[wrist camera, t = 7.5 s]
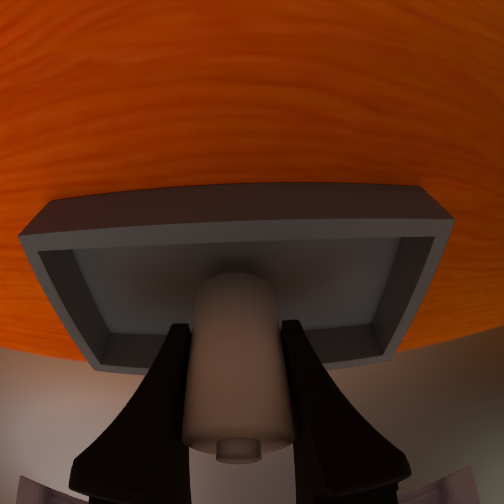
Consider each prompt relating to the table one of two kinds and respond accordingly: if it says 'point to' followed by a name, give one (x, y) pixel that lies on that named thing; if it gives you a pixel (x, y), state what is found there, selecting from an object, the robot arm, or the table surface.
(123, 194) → the trough
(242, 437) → the cell
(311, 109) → the table surface
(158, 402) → the robot arm
